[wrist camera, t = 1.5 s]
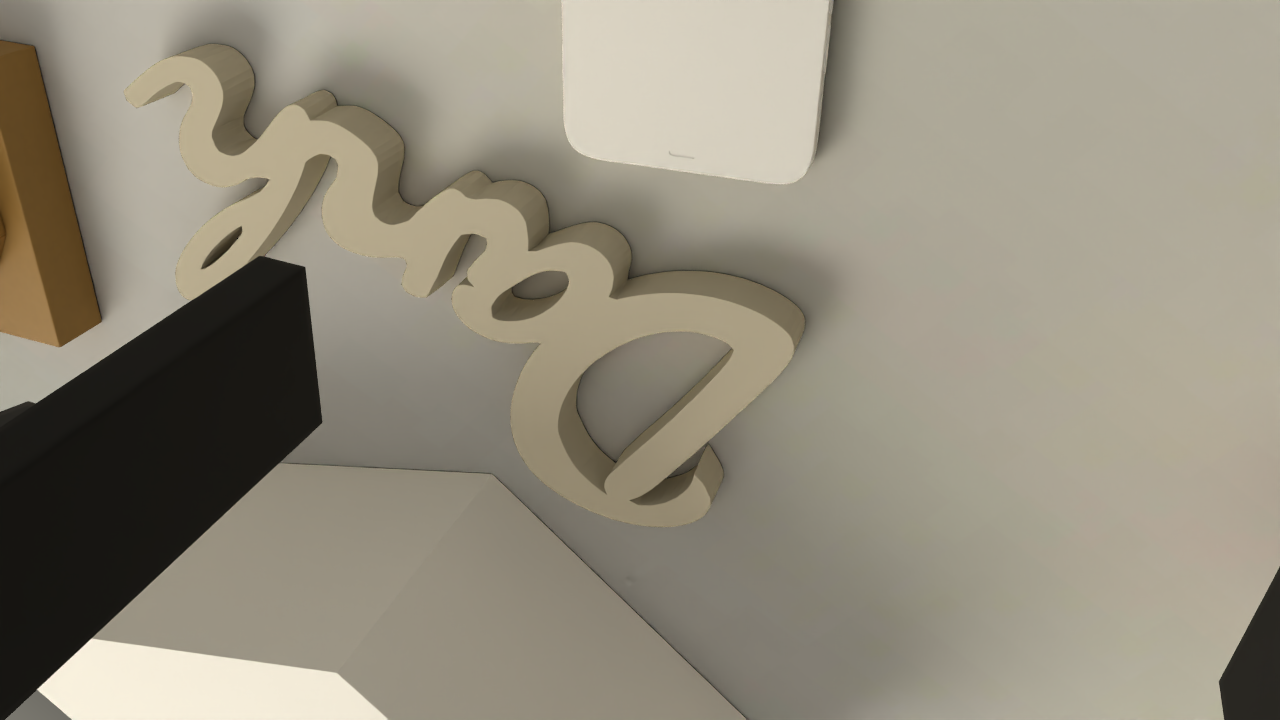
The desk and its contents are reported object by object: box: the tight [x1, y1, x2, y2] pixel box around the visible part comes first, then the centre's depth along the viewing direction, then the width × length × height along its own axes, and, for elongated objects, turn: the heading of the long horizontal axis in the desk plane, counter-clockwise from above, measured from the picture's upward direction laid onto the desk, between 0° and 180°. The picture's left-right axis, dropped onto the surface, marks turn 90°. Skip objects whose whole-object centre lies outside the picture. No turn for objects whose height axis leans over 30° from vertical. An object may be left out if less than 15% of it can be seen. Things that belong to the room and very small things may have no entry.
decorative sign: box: [124, 44, 805, 527], centre depth 35 cm, size 23×2×10 cm
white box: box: [37, 463, 747, 720], centre depth 40 cm, size 14×29×10 cm, turn 74°
